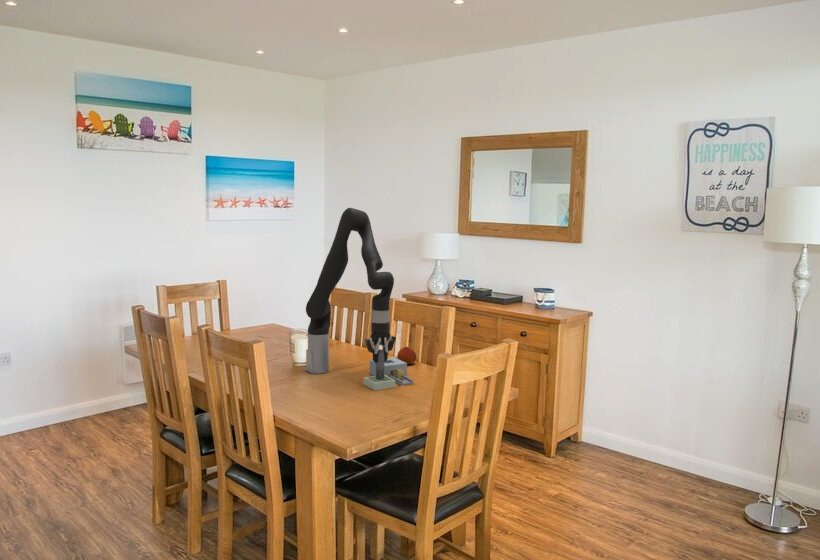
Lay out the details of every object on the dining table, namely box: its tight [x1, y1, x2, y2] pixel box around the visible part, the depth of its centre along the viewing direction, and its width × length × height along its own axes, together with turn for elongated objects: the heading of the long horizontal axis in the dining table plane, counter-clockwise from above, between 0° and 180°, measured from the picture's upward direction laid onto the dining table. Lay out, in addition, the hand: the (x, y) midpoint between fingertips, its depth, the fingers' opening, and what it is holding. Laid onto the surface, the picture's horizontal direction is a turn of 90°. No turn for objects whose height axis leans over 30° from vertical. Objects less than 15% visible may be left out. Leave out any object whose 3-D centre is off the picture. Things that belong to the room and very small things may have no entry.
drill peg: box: [376, 348, 385, 380], centre depth 266 cm, size 4×4×12 cm
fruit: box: [396, 346, 417, 365], centre depth 302 cm, size 9×9×8 cm
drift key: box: [391, 369, 404, 379], centre depth 277 cm, size 9×3×4 cm, turn 30°
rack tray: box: [363, 375, 396, 391], centre depth 267 cm, size 10×10×3 cm
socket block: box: [369, 356, 415, 387], centre depth 278 cm, size 23×12×6 cm, turn 30°
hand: (380, 361), depth 266 cm, fingers closed on drill peg, 3 cm apart
